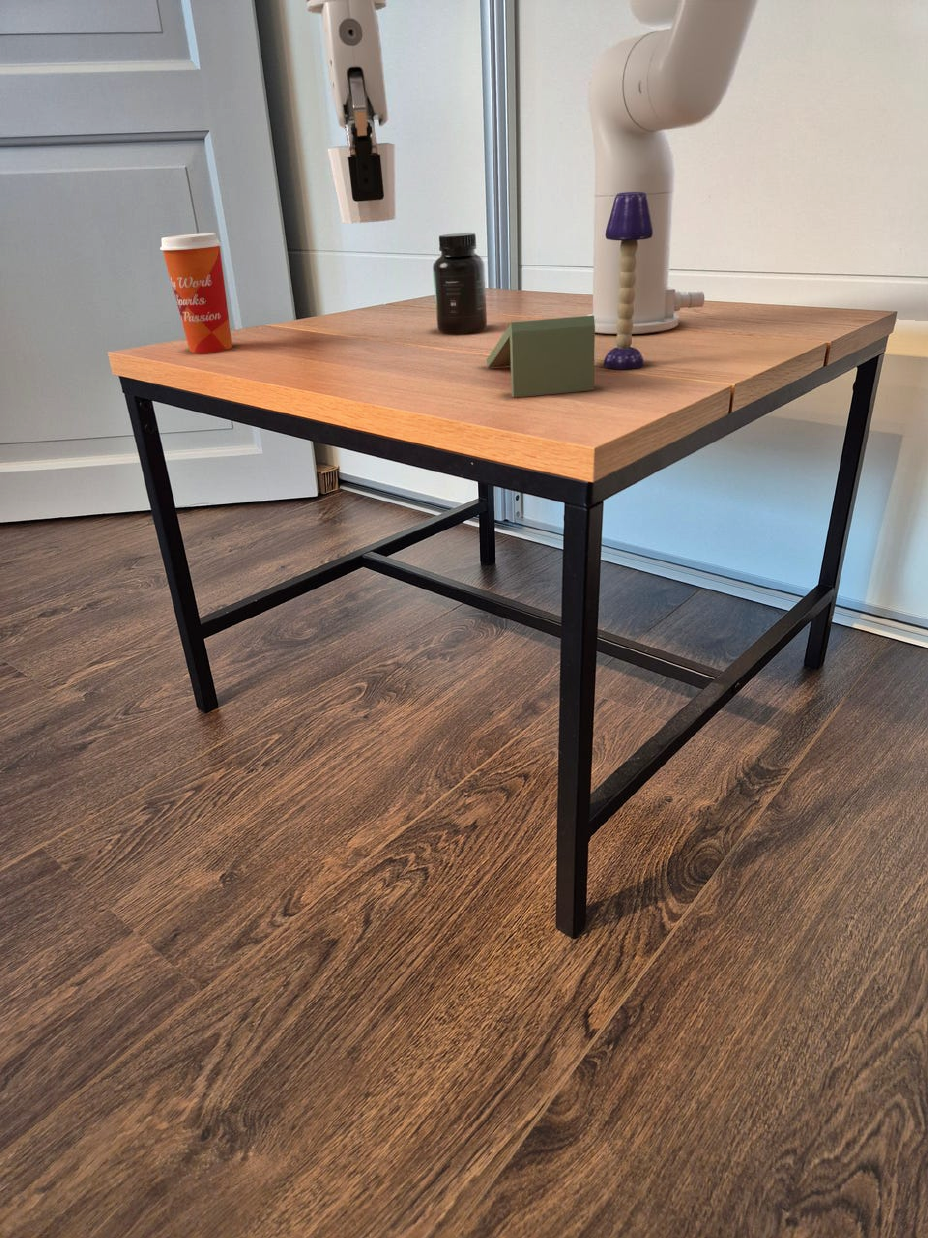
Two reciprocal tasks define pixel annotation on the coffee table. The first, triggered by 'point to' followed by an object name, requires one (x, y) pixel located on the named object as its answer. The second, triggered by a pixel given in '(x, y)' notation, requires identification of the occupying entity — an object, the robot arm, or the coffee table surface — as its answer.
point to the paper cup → (199, 290)
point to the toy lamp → (627, 271)
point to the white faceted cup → (340, 170)
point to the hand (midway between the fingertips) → (367, 197)
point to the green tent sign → (548, 355)
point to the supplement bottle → (459, 285)
